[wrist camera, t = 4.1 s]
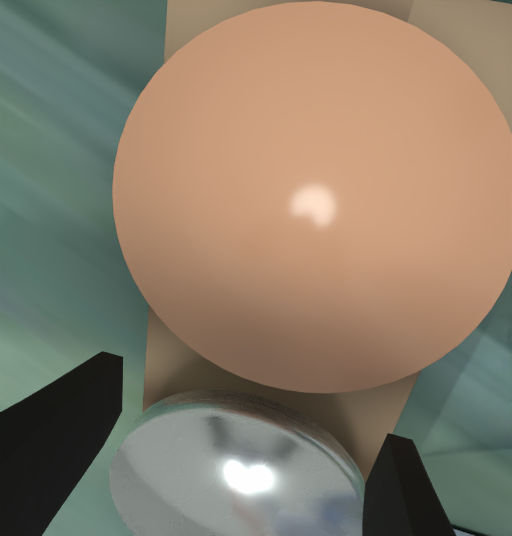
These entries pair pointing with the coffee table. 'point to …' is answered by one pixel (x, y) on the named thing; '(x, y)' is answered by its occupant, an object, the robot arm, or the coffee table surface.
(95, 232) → the coffee table surface
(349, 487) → the chrome metal disc
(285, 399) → the block
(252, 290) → the peach dome disc
